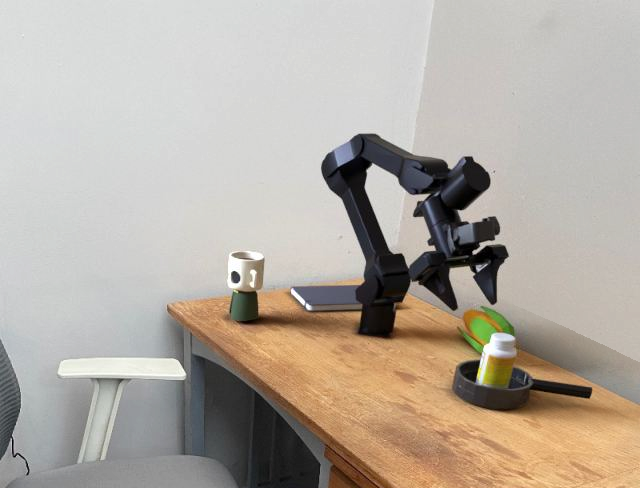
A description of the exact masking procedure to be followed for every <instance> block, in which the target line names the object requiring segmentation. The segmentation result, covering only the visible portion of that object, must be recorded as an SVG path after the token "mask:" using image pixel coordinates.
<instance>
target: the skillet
mask: <svg viewBox="0 0 640 488" xmlns="http://www.w3.org/2000/svg"><path fill="white" fill-rule="evenodd" d="M480 362H481V359H471V360H470V359H469V360H465V361H462V362H459V363H458V364H457V365H456V366H455V369H454V375H453V379H452V383H451V389H452V391H453V393H454V394H455V395H456V396H458V398H459V399H462V400H463V401H465V402H466V403H468V404H470V405H471V404H472V405H474V406H477V407H481V408H485V409H490V410H504V411H505V410H513V409H517V408H520V407H523V406H525V405H527V404H528V402H529V400H530V397H531V393H532V391H533V390H532V387H533V383H534V382H533V381H532V378H533V376H532V375H531V374H530V373H529V372H527V371H526V370H524V369H523V368H520V367H518V366H515V365H514V366H513V370H512V374H511V378H510V382H509V386H508V389H499V388H493V387H487V386H484V385H480V384H477V383H476V379H477V375H478V370H479V366H480Z"/></svg>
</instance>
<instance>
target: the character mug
mask: <svg viewBox="0 0 640 488" xmlns="http://www.w3.org/2000/svg"><path fill="white" fill-rule="evenodd" d="M265 258H266V257H265V256H264V254H262V253H260V252H255V251H249V250H239V251H233V252H231V253H230V254H229V255H228V278H227V286H228V288H230V289H232V290H233V291H232V295H231V298H230V304H229V308H228V316H227V317H230V319H231V320H234V321H236V322H237V321H238V322H248V321H252V320H256V319H258V318H259V298H258V295H259V294H258V292H257V291H260V290H261V289H262V288H263V286H264V275H265V274H264V273H265Z"/></svg>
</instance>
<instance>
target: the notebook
mask: <svg viewBox="0 0 640 488" xmlns="http://www.w3.org/2000/svg"><path fill="white" fill-rule="evenodd" d="M360 285H361V284H339V285H338V284H337V285H302V286H296V285H295V286H290V290H289V291H290V292H289V294H290V295H292V296H293V298H294V299H295V300H296V301H297V302H298V303H299V304H300V305H301V306H302V307H303V308H304V309H305V310H306V311H308V312H338V311H339V312H340V311H362V305H363V304H362V303H360V302H358V301H356V294H355V290H356V289H357V288H358V287H359V286H360ZM394 309H396V310H397V303H395V305H394Z"/></svg>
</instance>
